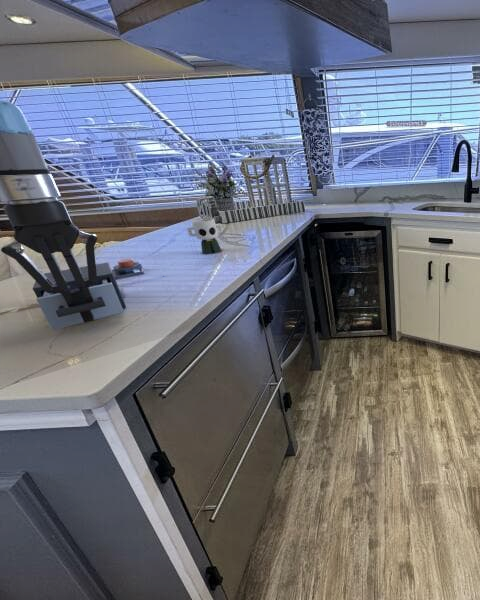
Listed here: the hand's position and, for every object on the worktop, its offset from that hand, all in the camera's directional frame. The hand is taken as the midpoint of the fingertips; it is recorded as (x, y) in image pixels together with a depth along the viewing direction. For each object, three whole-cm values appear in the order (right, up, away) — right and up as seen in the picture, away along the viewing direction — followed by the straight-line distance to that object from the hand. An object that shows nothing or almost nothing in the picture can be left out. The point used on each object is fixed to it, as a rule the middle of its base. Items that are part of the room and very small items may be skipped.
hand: (89, 319), depth 66 cm
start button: (-18, +14, +30) cm, 38 cm away
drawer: (-4, +1, +4) cm, 6 cm away
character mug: (-5, +20, +53) cm, 57 cm away
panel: (-20, +10, +30) cm, 37 cm away
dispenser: (-10, +2, +11) cm, 15 cm away
